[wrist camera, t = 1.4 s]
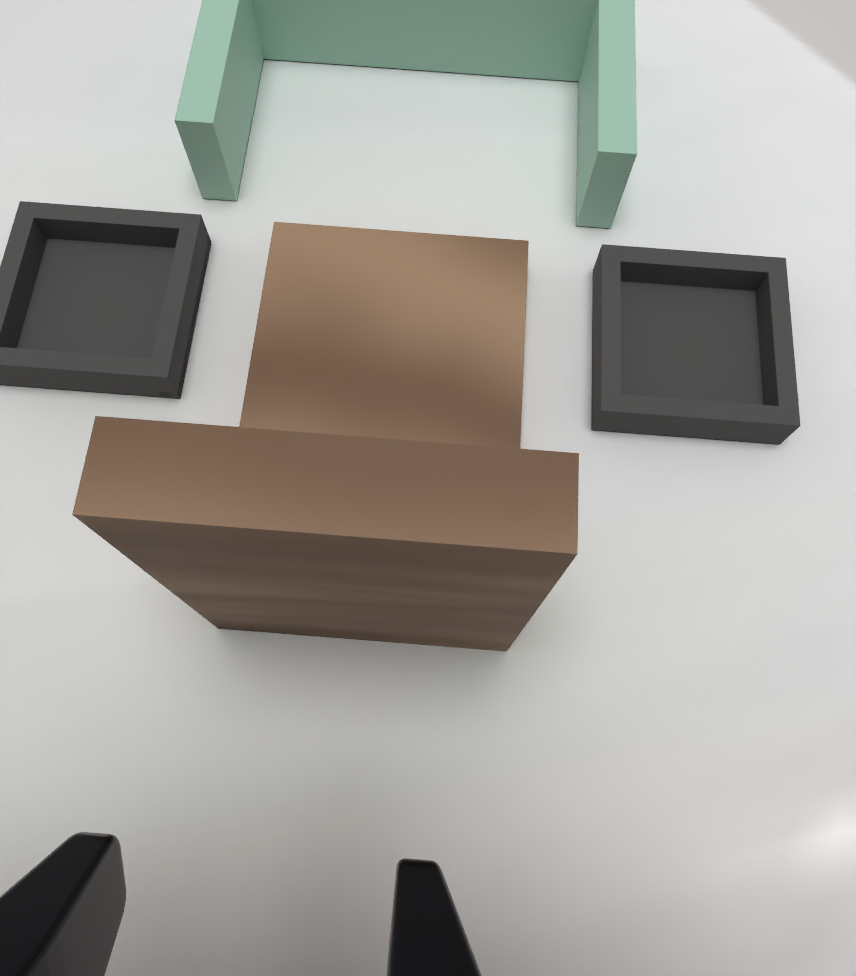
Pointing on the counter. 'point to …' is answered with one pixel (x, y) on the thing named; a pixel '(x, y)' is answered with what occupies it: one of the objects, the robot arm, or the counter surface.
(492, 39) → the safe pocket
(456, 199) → the counter surface
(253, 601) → the bookend
